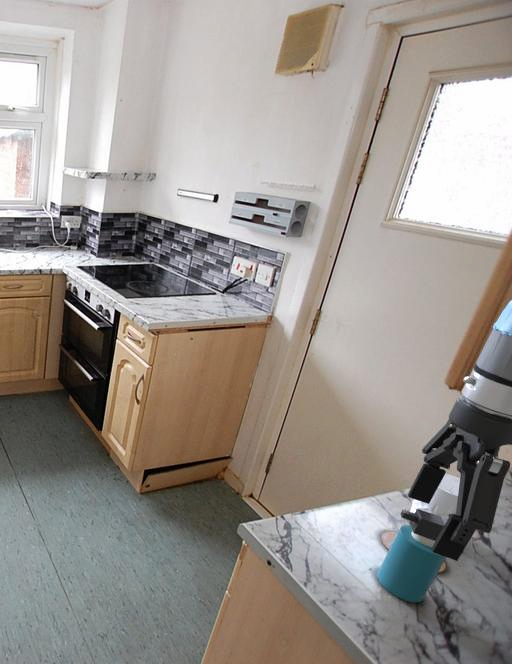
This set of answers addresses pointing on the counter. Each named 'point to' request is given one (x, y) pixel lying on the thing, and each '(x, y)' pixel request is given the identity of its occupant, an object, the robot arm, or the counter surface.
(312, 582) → the counter surface
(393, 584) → the spray bottle
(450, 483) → the white cup
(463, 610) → the counter surface
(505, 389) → the robot arm
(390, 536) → the coaster
